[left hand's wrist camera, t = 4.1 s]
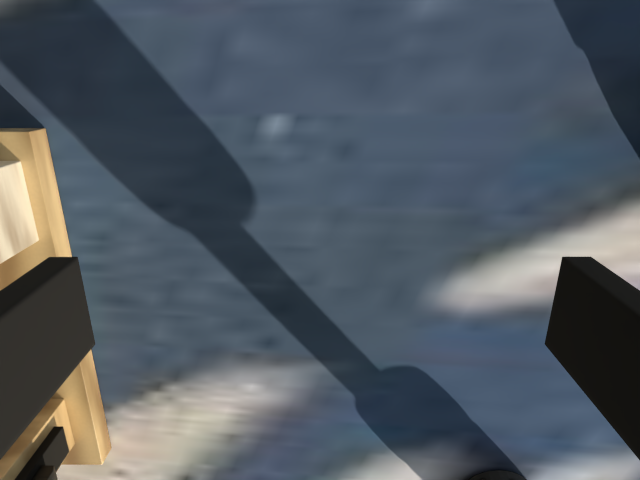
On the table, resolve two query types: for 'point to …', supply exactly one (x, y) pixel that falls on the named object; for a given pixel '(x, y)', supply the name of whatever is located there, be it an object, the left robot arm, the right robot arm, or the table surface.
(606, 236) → the table surface
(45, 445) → the right robot arm
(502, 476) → the headphones
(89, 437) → the beige stand
